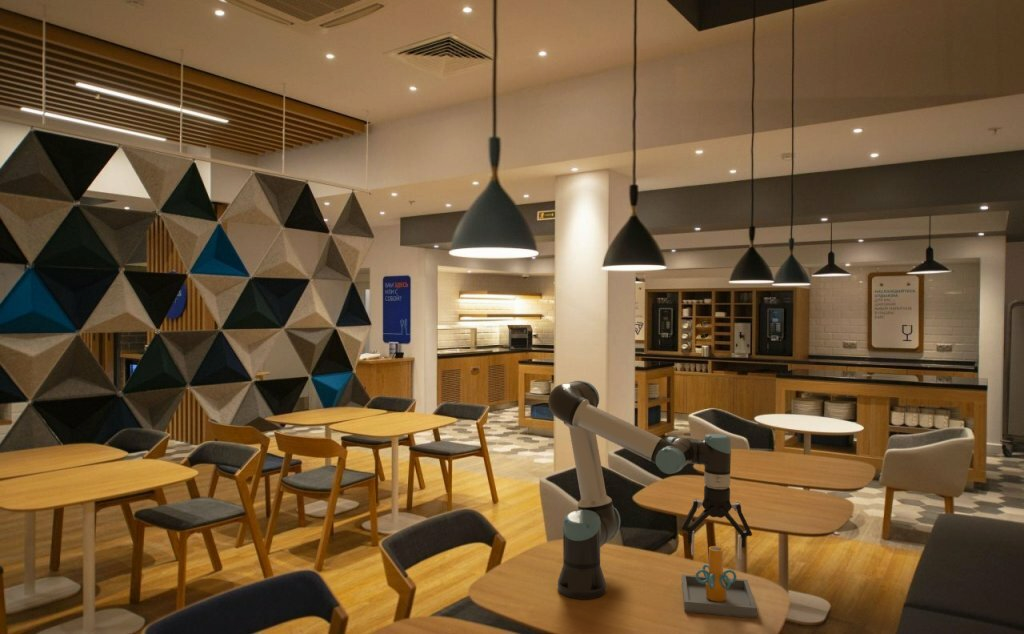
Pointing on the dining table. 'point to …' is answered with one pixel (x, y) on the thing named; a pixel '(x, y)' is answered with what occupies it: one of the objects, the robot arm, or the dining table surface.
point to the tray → (734, 605)
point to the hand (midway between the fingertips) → (715, 555)
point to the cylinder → (716, 576)
